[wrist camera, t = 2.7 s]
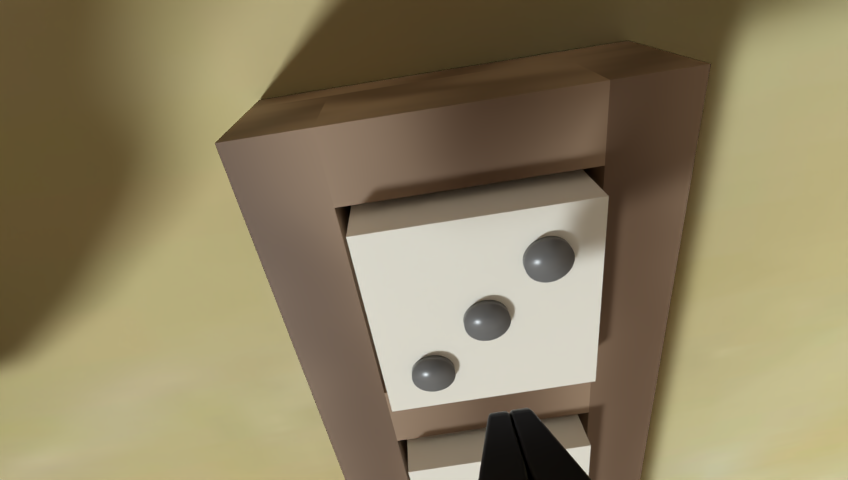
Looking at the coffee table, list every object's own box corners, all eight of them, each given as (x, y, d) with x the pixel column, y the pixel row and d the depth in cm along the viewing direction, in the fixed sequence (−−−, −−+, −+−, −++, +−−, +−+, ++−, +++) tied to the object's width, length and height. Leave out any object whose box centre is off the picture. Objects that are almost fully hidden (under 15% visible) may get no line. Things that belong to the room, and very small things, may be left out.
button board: (409, 568, 28) (412, 652, 25) (259, 100, 14) (214, 143, 10) (587, 543, 28) (615, 623, 24) (628, 40, 13) (710, 63, 10)
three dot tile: (392, 349, 16) (392, 417, 13) (354, 190, 13) (345, 241, 10) (565, 322, 16) (598, 386, 13) (569, 156, 13) (612, 199, 10)
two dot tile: (427, 497, 20) (432, 568, 18) (405, 407, 17) (408, 478, 15) (562, 477, 20) (585, 546, 18) (564, 383, 17) (593, 450, 15)
